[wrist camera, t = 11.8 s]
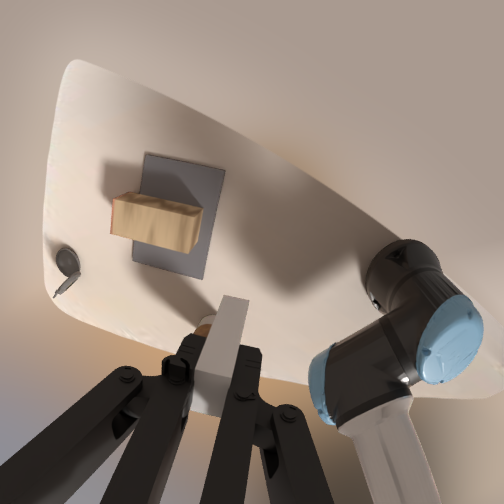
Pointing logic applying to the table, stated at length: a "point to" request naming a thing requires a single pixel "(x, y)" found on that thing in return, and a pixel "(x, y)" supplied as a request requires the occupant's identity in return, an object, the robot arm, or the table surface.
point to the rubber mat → (186, 192)
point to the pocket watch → (67, 268)
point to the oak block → (156, 221)
